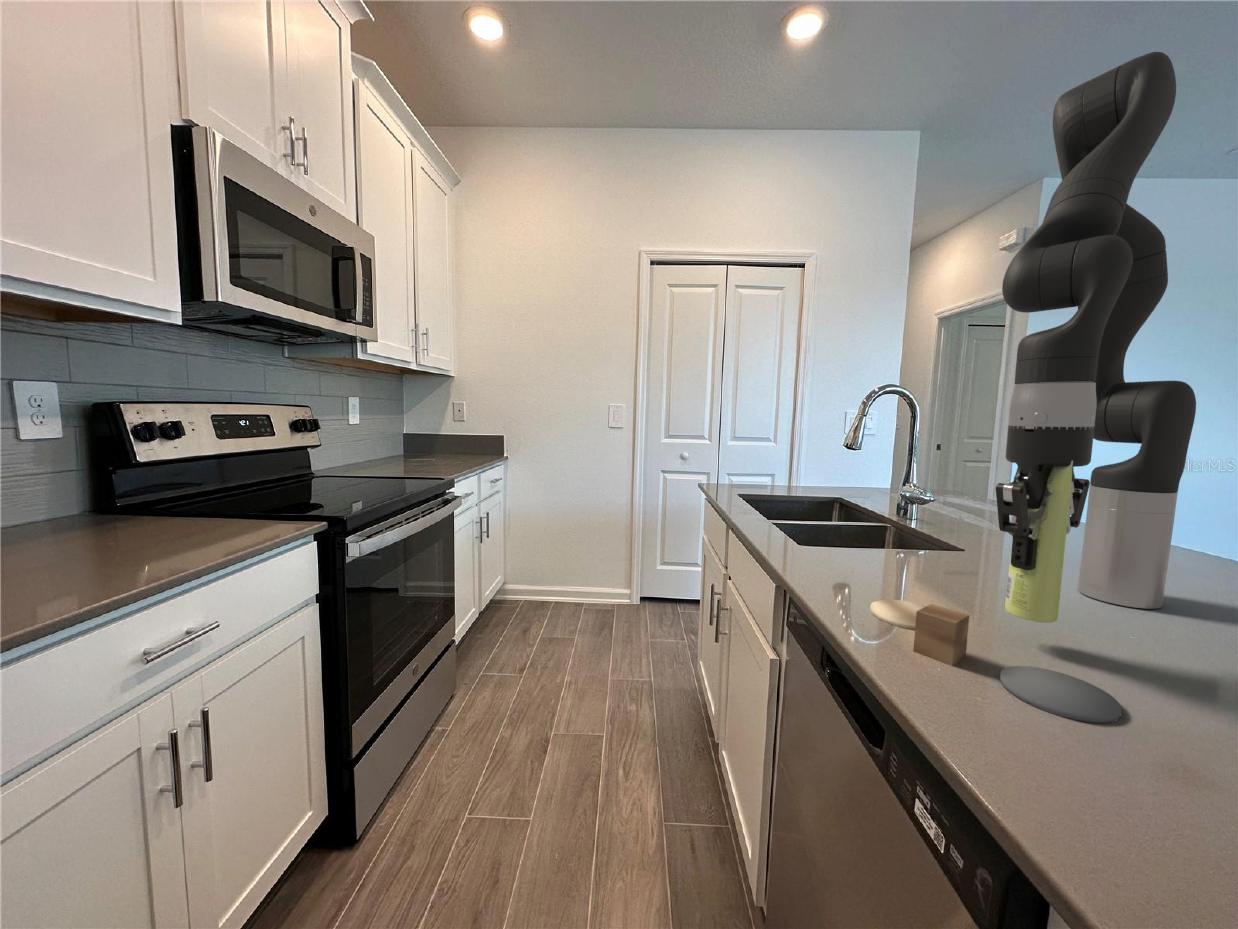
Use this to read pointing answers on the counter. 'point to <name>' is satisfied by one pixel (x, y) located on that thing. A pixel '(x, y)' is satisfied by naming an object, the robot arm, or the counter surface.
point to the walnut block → (941, 634)
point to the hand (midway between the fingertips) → (1036, 564)
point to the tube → (1044, 558)
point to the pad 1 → (896, 612)
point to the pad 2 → (1060, 694)
